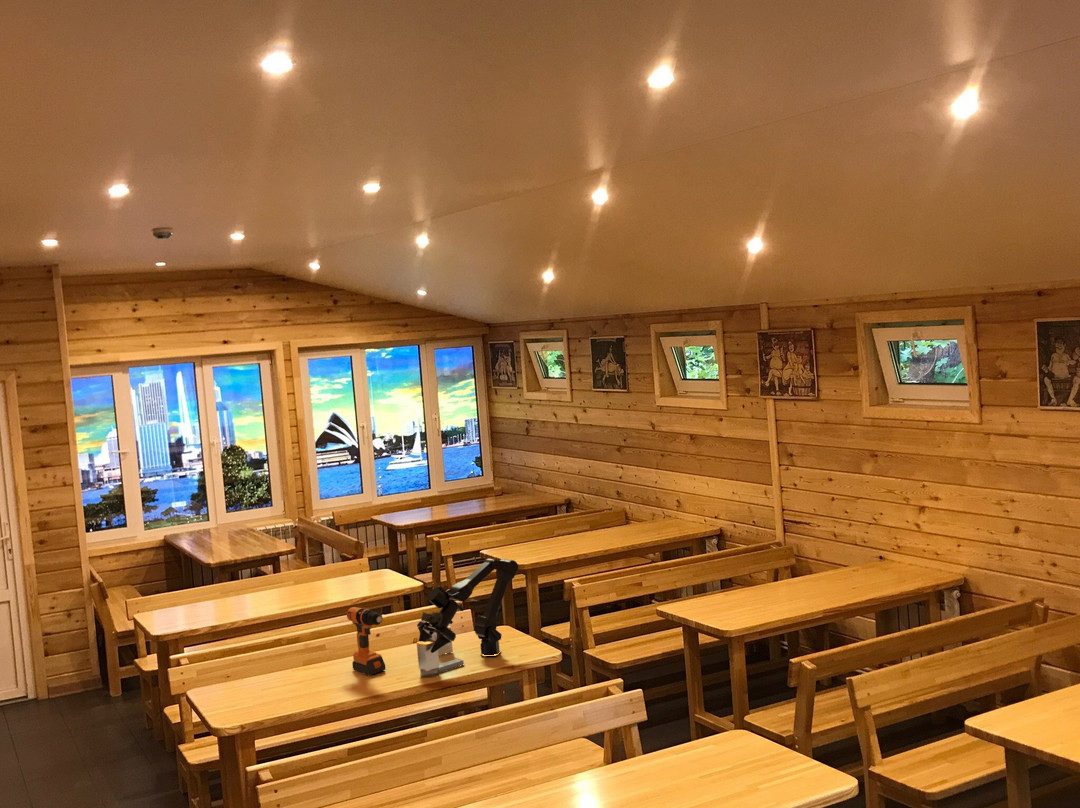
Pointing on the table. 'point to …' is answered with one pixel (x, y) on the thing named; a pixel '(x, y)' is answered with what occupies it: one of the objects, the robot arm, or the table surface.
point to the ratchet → (442, 668)
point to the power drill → (365, 641)
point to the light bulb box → (445, 648)
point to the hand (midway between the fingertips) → (424, 650)
